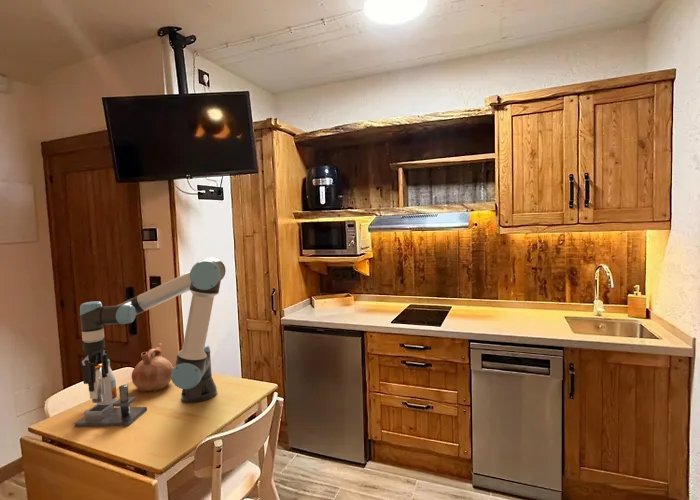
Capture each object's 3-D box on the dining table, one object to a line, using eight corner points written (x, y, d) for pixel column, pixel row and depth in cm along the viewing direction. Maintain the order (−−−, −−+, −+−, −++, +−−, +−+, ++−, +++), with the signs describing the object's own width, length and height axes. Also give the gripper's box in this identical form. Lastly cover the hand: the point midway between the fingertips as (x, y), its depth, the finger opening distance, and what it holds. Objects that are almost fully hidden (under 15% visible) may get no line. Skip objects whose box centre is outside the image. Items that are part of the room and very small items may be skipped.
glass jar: (107, 398, 162) (104, 362, 161) (99, 403, 157) (96, 366, 156) (96, 398, 162) (93, 362, 161) (88, 403, 157) (85, 366, 156)
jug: (149, 379, 200) (146, 341, 199) (182, 380, 197) (179, 341, 196) (124, 395, 182) (120, 353, 180) (159, 396, 179) (156, 354, 178)
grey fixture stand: (146, 410, 166) (144, 379, 165) (128, 426, 153) (125, 392, 152) (97, 411, 167) (94, 380, 166) (74, 427, 154) (71, 393, 153)
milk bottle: (107, 408, 169) (103, 363, 167) (92, 407, 170) (88, 363, 169) (121, 400, 176) (117, 357, 175) (106, 399, 178) (103, 357, 176)
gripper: (98, 334, 166) (103, 387, 168) (68, 346, 149) (73, 405, 151) (115, 333, 166) (119, 386, 168) (87, 346, 149) (92, 405, 151)
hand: (97, 395), depth 159 cm, fingers closed on glass jar, 4 cm apart
